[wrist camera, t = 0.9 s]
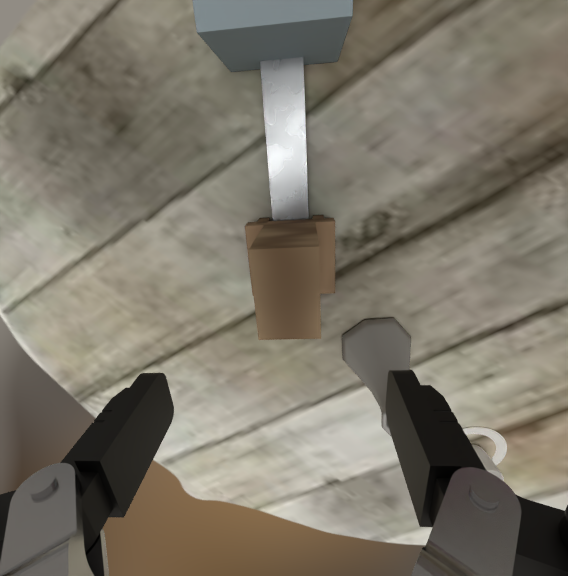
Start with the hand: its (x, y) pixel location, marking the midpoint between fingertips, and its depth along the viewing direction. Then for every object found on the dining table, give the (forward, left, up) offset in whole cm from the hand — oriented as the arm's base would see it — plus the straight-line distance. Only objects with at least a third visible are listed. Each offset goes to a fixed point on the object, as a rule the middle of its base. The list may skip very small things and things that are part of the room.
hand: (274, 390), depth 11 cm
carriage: (0, 0, -19) cm, 19 cm away
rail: (0, -5, -19) cm, 20 cm away
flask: (-8, +11, -19) cm, 24 cm away
